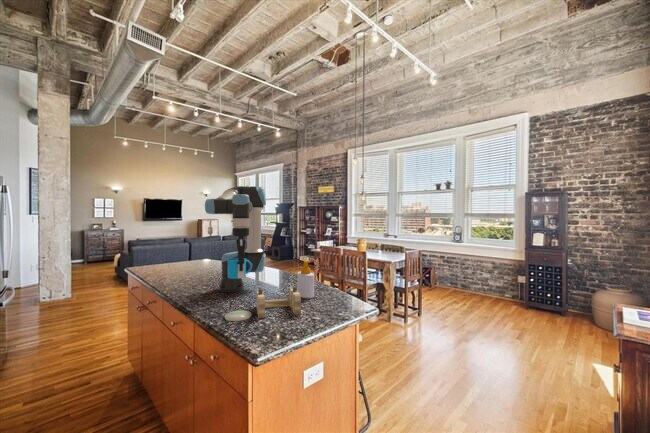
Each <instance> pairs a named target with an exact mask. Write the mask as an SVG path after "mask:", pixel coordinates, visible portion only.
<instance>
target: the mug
mask: <svg viewBox="0 0 650 433" xmlns="http://www.w3.org/2000/svg"><path fill="white" fill-rule="evenodd" d="M240 261H241V260H240ZM246 261H247V262H248V263H249V264H250V269H249V270H248V271H247V272H246ZM237 262H238V258H230V259H228V278H231V279H239V278H238V264H237ZM251 269H252V263H251V262H250V261H249V260H246V259H245V258H244V278H245V277H246V276H247V274H249V273H251V272H250V271H251Z"/></svg>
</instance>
